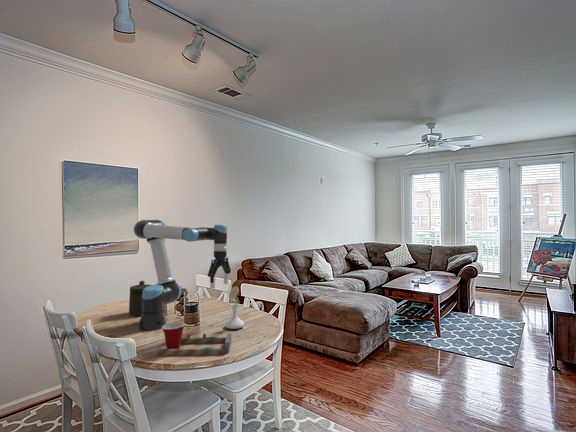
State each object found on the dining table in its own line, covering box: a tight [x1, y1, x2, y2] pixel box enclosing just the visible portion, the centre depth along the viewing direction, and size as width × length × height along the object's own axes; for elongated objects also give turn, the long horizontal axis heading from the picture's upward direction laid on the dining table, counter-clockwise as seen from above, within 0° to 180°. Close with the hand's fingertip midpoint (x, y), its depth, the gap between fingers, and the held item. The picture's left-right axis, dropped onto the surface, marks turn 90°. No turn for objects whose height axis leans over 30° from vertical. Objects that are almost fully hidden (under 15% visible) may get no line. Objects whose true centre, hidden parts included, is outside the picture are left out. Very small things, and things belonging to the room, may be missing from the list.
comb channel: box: [157, 333, 227, 357], centre depth 163 cm, size 31×16×4 cm, turn 95°
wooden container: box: [128, 280, 154, 318], centre depth 221 cm, size 15×15×22 cm
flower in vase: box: [224, 285, 245, 330], centre depth 194 cm, size 13×11×25 cm
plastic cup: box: [161, 321, 185, 349], centre depth 162 cm, size 11×11×12 cm
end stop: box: [224, 332, 232, 354], centre depth 164 cm, size 2×13×5 cm, turn 5°
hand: (219, 286), depth 195 cm, fingers open, 13 cm apart
